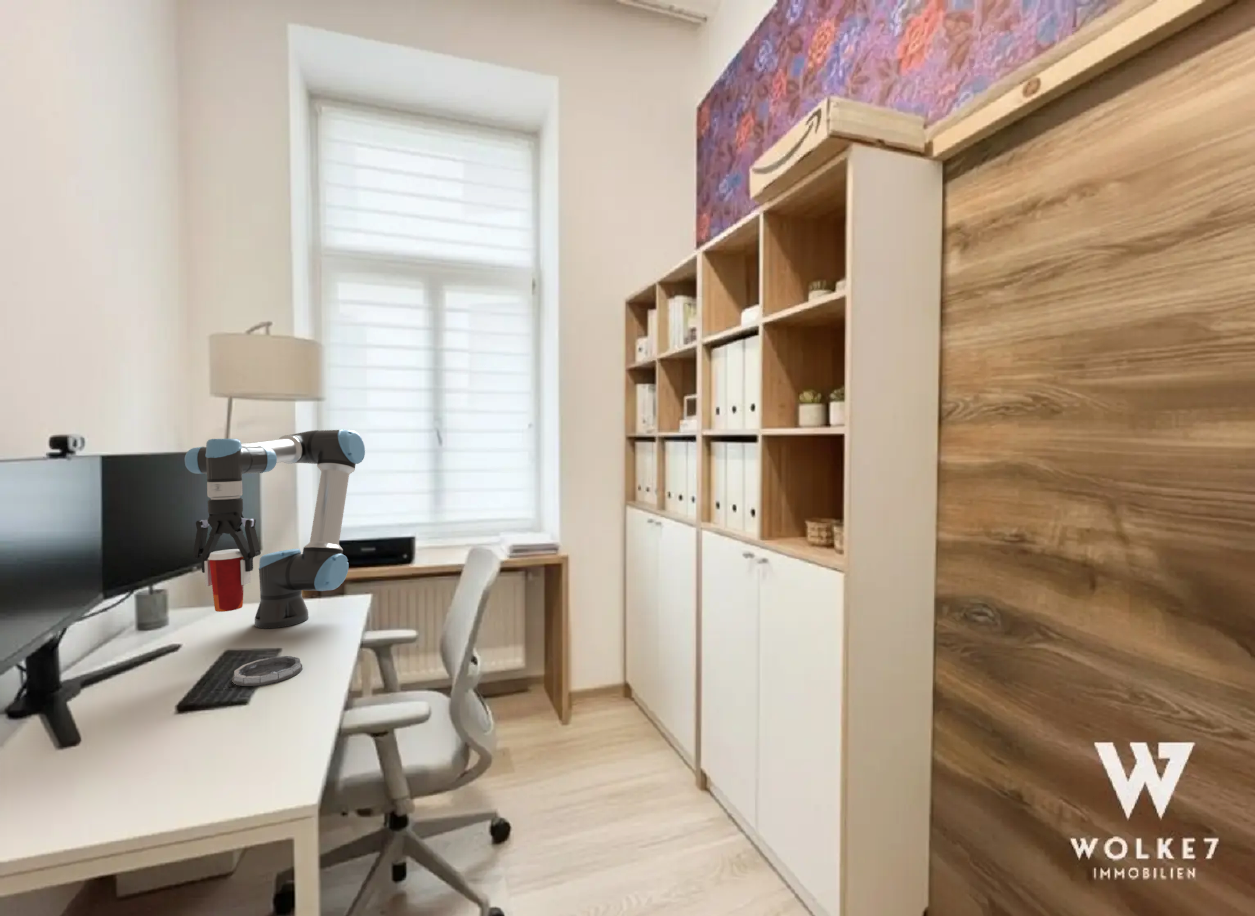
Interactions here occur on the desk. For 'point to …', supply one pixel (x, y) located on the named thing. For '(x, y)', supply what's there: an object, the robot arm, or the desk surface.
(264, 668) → the ring seat
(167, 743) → the desk surface
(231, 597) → the coffee cup
